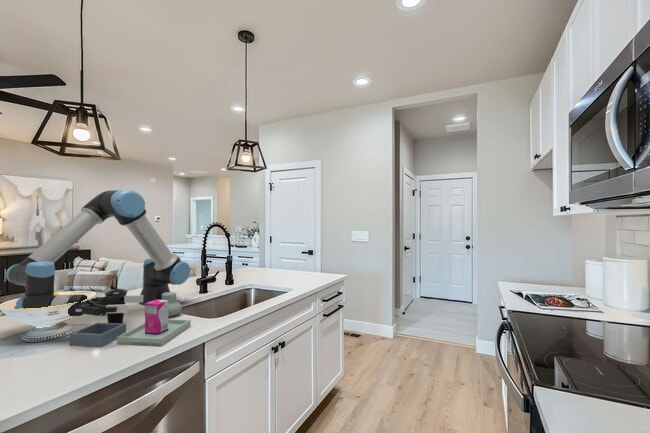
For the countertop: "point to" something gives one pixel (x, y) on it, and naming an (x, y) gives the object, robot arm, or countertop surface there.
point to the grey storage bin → (97, 334)
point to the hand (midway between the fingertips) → (136, 303)
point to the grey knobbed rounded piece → (172, 303)
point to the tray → (140, 338)
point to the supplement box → (156, 317)
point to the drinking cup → (115, 316)
